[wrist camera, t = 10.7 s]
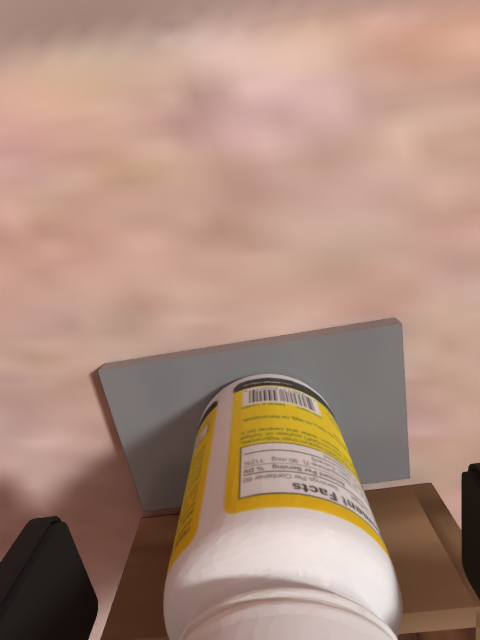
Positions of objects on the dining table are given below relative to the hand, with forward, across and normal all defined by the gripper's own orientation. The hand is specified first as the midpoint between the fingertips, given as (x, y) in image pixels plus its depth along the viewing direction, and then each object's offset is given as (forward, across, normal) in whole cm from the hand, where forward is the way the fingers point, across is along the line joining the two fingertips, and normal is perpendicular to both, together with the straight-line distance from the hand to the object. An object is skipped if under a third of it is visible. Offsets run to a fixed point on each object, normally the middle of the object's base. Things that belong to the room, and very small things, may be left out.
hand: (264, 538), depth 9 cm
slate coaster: (+5, 0, 0) cm, 5 cm away
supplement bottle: (+5, 0, 0) cm, 5 cm away
